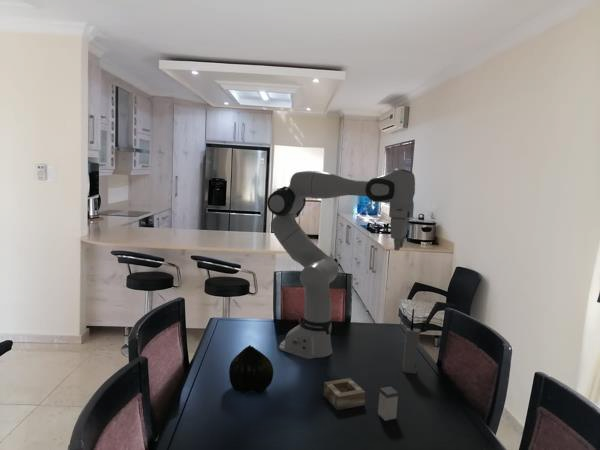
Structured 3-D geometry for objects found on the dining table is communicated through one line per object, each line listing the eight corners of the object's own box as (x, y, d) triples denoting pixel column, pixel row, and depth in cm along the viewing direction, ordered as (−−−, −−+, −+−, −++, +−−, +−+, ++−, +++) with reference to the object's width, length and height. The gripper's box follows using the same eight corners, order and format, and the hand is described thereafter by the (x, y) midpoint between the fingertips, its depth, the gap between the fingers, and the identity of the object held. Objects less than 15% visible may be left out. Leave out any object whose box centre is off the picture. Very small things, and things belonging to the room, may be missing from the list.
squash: (259, 391, 134) (271, 345, 142) (216, 383, 138) (230, 339, 146) (271, 403, 145) (281, 359, 153) (231, 396, 149) (243, 354, 158)
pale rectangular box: (377, 413, 135) (380, 388, 134) (388, 411, 136) (390, 386, 135) (385, 420, 131) (387, 394, 130) (396, 418, 133) (398, 392, 132)
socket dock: (323, 394, 144) (324, 382, 144) (348, 390, 148) (349, 378, 148) (337, 410, 135) (338, 396, 135) (364, 405, 139) (365, 391, 139)
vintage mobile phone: (416, 374, 164) (422, 311, 161) (403, 372, 165) (408, 309, 162) (415, 370, 167) (421, 308, 165) (402, 368, 168) (408, 306, 165)
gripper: (396, 211, 172) (394, 245, 173) (388, 212, 153) (386, 251, 154) (412, 212, 170) (410, 246, 171) (406, 214, 150) (403, 252, 152)
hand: (398, 248), depth 162 cm, fingers open, 8 cm apart
